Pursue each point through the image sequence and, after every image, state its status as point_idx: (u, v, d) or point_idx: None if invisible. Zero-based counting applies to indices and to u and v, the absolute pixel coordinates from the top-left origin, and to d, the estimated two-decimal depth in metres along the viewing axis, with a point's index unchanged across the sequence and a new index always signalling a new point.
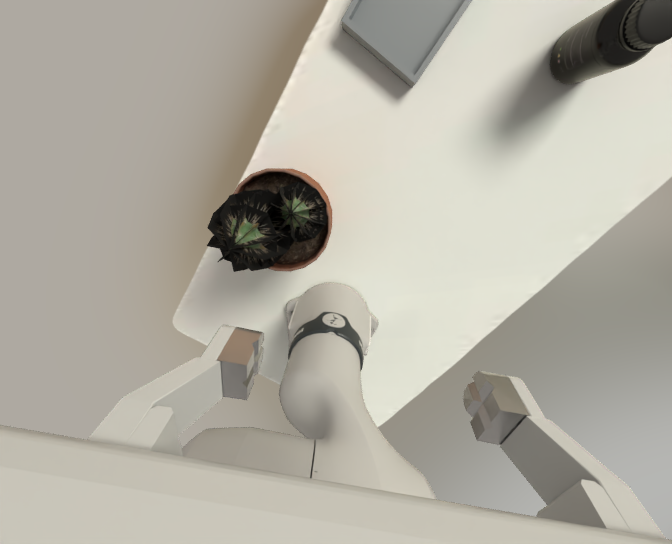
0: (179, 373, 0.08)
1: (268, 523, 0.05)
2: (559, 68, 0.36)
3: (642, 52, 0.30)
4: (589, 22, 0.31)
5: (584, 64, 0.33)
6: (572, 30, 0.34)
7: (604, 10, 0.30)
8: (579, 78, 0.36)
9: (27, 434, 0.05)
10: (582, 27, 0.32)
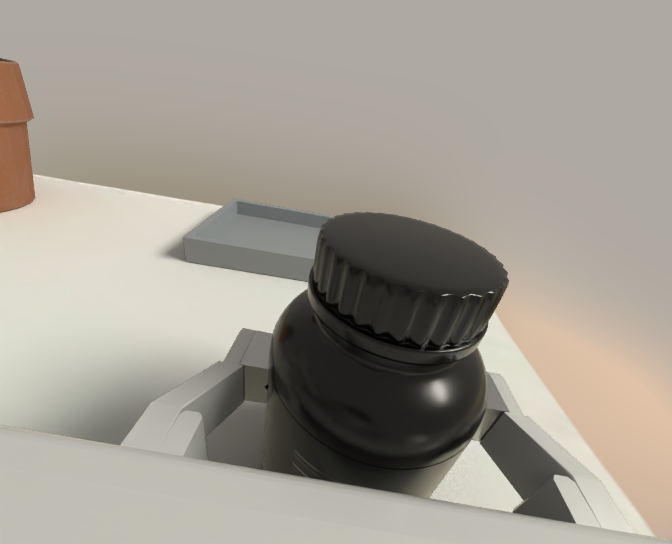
0: (204, 377, 0.08)
1: (268, 523, 0.05)
2: None
3: (347, 381, 0.06)
4: None
5: None
6: None
7: None
8: (265, 456, 0.10)
9: (27, 434, 0.05)
10: None
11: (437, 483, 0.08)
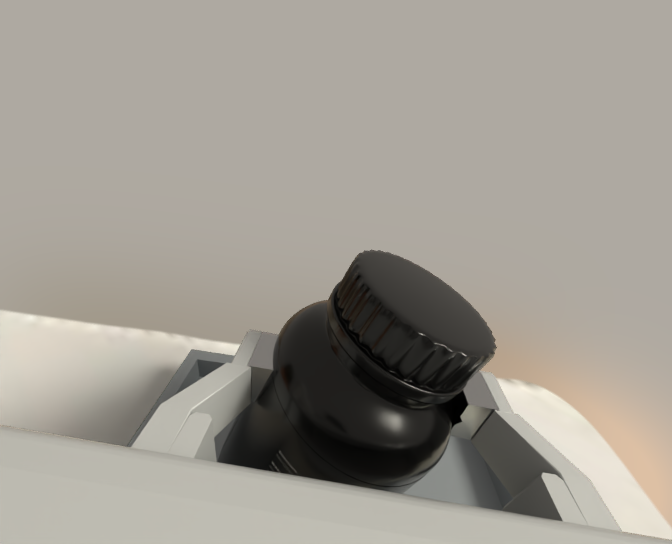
0: (213, 379, 0.08)
1: (268, 523, 0.05)
2: None
3: (349, 400, 0.07)
4: None
5: None
6: None
7: None
8: (231, 449, 0.10)
9: (27, 434, 0.05)
10: None
11: None
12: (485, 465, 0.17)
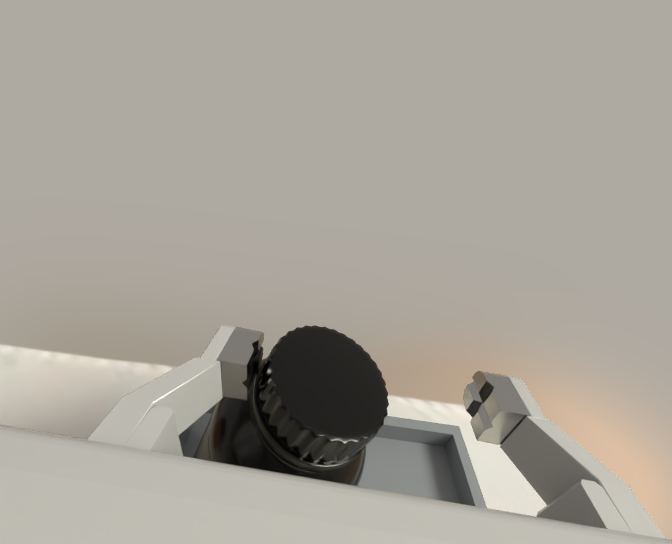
0: (179, 373, 0.08)
1: (268, 523, 0.05)
2: None
3: (261, 468, 0.09)
4: None
5: None
6: None
7: None
8: None
9: (26, 434, 0.05)
10: None
11: None
12: (457, 494, 0.18)
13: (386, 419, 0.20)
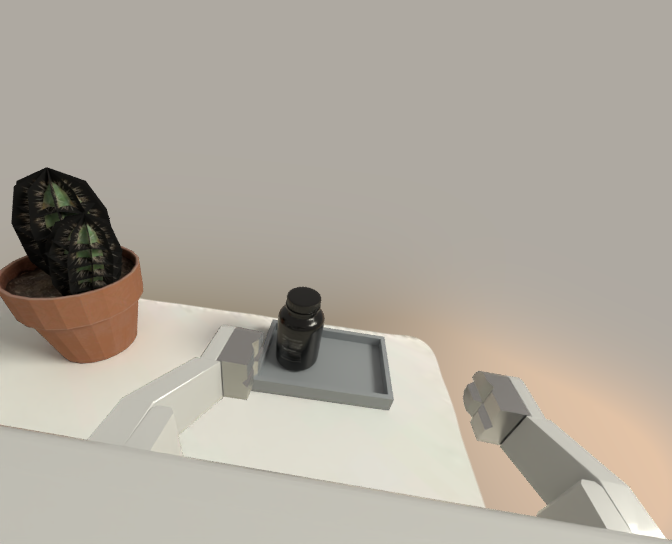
0: (179, 373, 0.08)
1: (268, 523, 0.05)
2: None
3: (291, 320, 0.38)
4: None
5: None
6: None
7: None
8: (276, 343, 0.42)
9: (27, 434, 0.05)
10: None
11: (310, 342, 0.39)
12: (379, 359, 0.47)
13: (353, 333, 0.49)
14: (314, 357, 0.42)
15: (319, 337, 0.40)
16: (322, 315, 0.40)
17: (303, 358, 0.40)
